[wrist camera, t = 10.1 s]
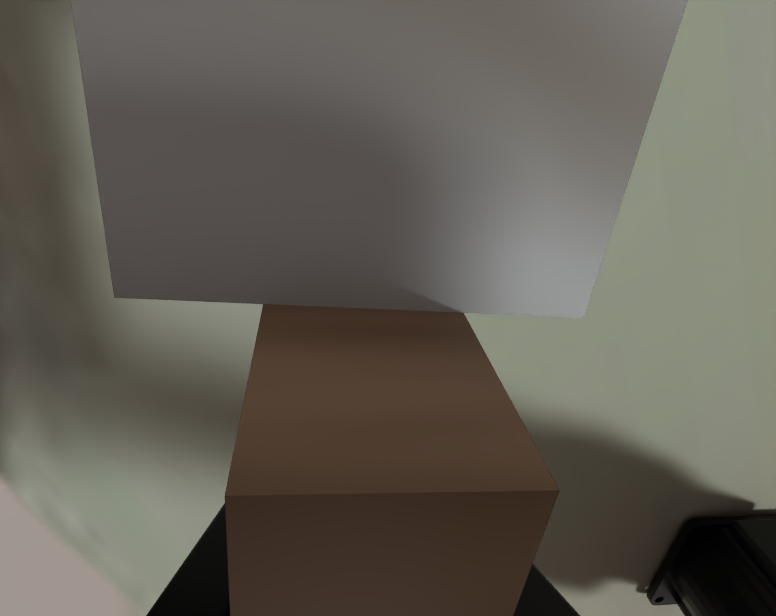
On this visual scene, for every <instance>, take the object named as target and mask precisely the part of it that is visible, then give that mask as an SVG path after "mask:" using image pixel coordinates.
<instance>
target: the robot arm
mask: <svg viewBox="0 0 776 616" xmlns="http://www.w3.org/2000/svg"><path fill="white" fill-rule="evenodd" d="M647 597H648V599H649V601H650V602H651V604H652V605H669V604H678V606H679V607H680V609H681V611H682V612H683V614H684V615H685V616H776V516H751V517H718V518H695V519H692V520H689V521H688V522H687V523H686V524H685V525H684V527H683V529H682V531H681V532H680V534H679V536H678V538H677V540H676V541H675V543H674V545H673V547H672V549H671V551H670V552H669V554H668V556H667V558H666V560H665V562H664V563H663V565H662V567H661V569H660V571H659V572H658V574H657V576H656V578H655V580H654V582H653V583H652V585H651V587H650V589H649V591H648V592H647ZM146 616H230V600H229V578H228V556H227V533H226V511H225V504H224V505H223V506H222V508H221V509H220V511H219V512H218V514H217V515H216V517H215V518H214V519H213V521H212V522H211V524H210V525H209V527H208V528H207V529H206V531H205V532H204V534H203V535H202V537H201V538H200V539H199V541H198V542H197V544H196V545H195V547H194V548H193V549H192V551H191V552H190V554H189V555H188V557H187V558H186V559H185V561H184V562H183V564H182V565H181V567H180V568H179V569H178V571H177V572H176V574H175V575H174V577H173V578H172V580H171V581H170V582H169V584H168V585H167V587H166V588H165V590H164V591H163V592H162V594H161V595H160V597H159V598H158V600H157V601H156V602H155V604H154V605H153V607H152V608H151V610H150V611H149V612H148V614H147V615H146ZM513 616H580V615H579V614H578V613H577V612H576V611H575V609H574V608H573V607H572V606H571V605H570V604H569V603H568V602H567V601H566V600H565V598H564V597H563V596H562V595H561V594H560V593H559V592H558V591H557V590H556V589H555V587H554V586H553V585H552V584H551V583H550V582H549V581H548V580H547V579H546V577H545V576H544V575H543V574H542V573H541V572H540V571H539V570H538V569H537V568H536V566H535V565H534V564H533V563H532V566H531V569H530V571H529V574H528V577H527V579H526V582H525V585H524V588H523V590H522V593H521V596H520V598H519V601H518V604H517V606H516V609H515V612H514V615H513Z"/></svg>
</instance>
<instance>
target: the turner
mask: <svg viewBox="0 0 776 616" xmlns="http://www.w3.org/2000/svg"><path fill="white" fill-rule="evenodd" d="M687 1H688V0H71V5H72V12H73V19H74V26H75V33H76V39H77V46H78V53H79V60H80V67H81V73H82V80H83V87H84V94H85V101H86V108H87V114H88V121H89V128H90V135H91V142H92V148H93V155H94V162H95V169H96V176H97V183H98V189H99V196H100V203H101V210H102V217H103V224H104V230H105V237H106V244H107V251H108V258H109V264H110V271H111V278H112V285H113V292H114V298H136V299H159V300H182V301H205V302H228V303H251V304H263V308H262V313H261V318H260V323H259V328H258V333H257V338H256V343H255V348H254V353H253V358H252V363H251V368H250V373H249V378H248V383H247V388H246V393H245V398H244V403H243V408H242V413H241V418H240V423H239V428H238V433H237V438H236V443H235V447H234V452H233V457H232V462H231V467H230V472H229V477H228V482H227V487H226V492H225V511H226V533H227V556H228V578H229V600H230V616H513V615H514V612H515V609H516V606H517V604H518V601H519V598H520V596H521V593H522V590H523V588H524V585H525V582H526V579H527V577H528V574H529V571H530V569H531V566H532V563H533V560H534V558H535V555H536V552H537V550H538V547H539V544H540V542H541V539H542V536H543V533H544V531H545V528H546V525H547V523H548V520H549V517H550V514H551V512H552V509H553V506H554V504H555V501H556V498H557V496H558V493H559V488H558V487H557V485H556V483H555V481H554V479H553V477H552V475H551V474H550V472H549V470H548V468H547V466H546V464H545V463H544V461H543V459H542V457H541V455H540V453H539V451H538V450H537V448H536V446H535V444H534V442H533V440H532V439H531V437H530V435H529V433H528V431H527V429H526V427H525V426H524V424H523V422H522V420H521V418H520V416H519V415H518V413H517V411H516V409H515V407H514V405H513V403H512V402H511V400H510V398H509V396H508V394H507V392H506V390H505V389H504V387H503V385H502V383H501V381H500V379H499V378H498V376H497V374H496V372H495V370H494V368H493V366H492V365H491V363H490V361H489V359H488V357H487V355H486V354H485V352H484V350H483V348H482V346H481V344H480V342H479V341H478V339H477V337H476V335H475V333H474V331H473V330H472V328H471V326H470V324H469V322H468V320H467V318H466V317H465V315H464V313H481V314H504V315H527V316H550V317H573V318H584V315H585V311H586V308H587V305H588V302H589V299H590V296H591V293H592V290H593V287H594V284H595V281H596V278H597V275H598V272H599V269H600V266H601V263H602V260H603V257H604V254H605V251H606V248H607V245H608V242H609V239H610V235H611V232H612V229H613V226H614V223H615V220H616V217H617V214H618V211H619V208H620V205H621V202H622V199H623V196H624V193H625V190H626V187H627V184H628V181H629V178H630V175H631V172H632V169H633V166H634V163H635V159H636V156H637V153H638V150H639V147H640V144H641V141H642V138H643V135H644V132H645V129H646V126H647V123H648V120H649V117H650V114H651V111H652V108H653V105H654V102H655V99H656V96H657V93H658V90H659V87H660V83H661V80H662V77H663V74H664V71H665V68H666V65H667V62H668V59H669V56H670V53H671V50H672V47H673V44H674V41H675V38H676V35H677V32H678V29H679V26H680V23H681V20H682V17H683V14H684V11H685V7H686V4H687Z"/></svg>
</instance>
